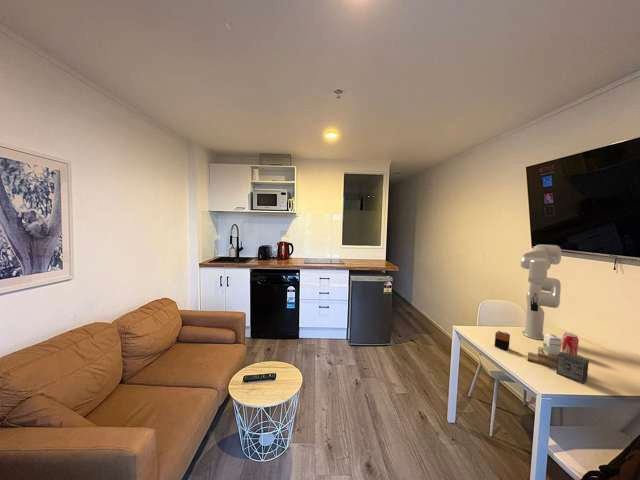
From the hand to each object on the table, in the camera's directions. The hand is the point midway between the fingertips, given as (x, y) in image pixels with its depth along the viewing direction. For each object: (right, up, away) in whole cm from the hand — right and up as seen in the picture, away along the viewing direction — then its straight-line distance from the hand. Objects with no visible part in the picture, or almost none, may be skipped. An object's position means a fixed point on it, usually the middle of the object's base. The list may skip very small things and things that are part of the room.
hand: (533, 308), depth 160 cm
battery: (-15, -26, +7) cm, 31 cm away
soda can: (+22, -28, +1) cm, 35 cm away
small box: (0, -29, -24) cm, 37 cm away
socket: (+1, -28, -11) cm, 30 cm away
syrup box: (+1, -27, -11) cm, 29 cm away
